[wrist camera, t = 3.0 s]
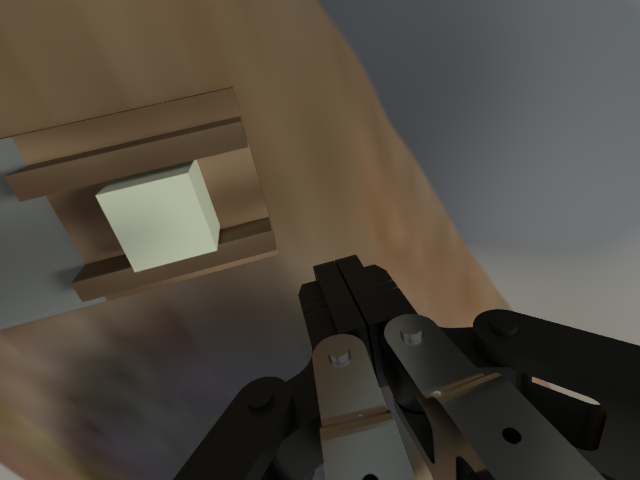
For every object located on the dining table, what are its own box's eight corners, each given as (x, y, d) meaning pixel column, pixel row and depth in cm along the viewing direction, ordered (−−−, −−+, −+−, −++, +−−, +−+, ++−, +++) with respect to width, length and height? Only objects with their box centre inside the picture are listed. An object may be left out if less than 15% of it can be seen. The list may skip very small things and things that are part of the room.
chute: (16, 135, 21) (-16, 145, 19) (232, 87, 23) (231, 90, 20) (109, 296, 27) (94, 322, 24) (278, 250, 28) (283, 270, 25)
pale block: (117, 175, 23) (95, 195, 19) (195, 157, 23) (187, 172, 20) (149, 243, 25) (134, 272, 22) (220, 225, 26) (217, 250, 22)
